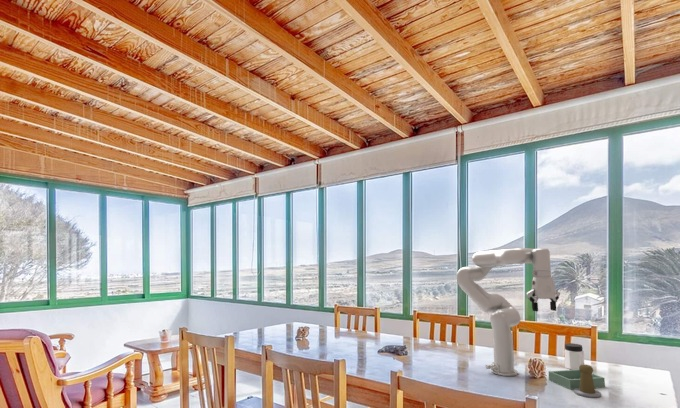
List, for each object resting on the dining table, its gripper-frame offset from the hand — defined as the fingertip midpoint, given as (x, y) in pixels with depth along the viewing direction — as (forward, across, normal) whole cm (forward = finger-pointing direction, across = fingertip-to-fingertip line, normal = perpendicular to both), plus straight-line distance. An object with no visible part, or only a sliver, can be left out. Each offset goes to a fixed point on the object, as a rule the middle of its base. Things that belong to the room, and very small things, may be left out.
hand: (544, 310), depth 196 cm
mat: (+33, +7, -16) cm, 37 cm away
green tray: (+33, +13, -2) cm, 36 cm away
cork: (+32, +7, -15) cm, 37 cm away
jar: (+34, +31, +20) cm, 50 cm away
